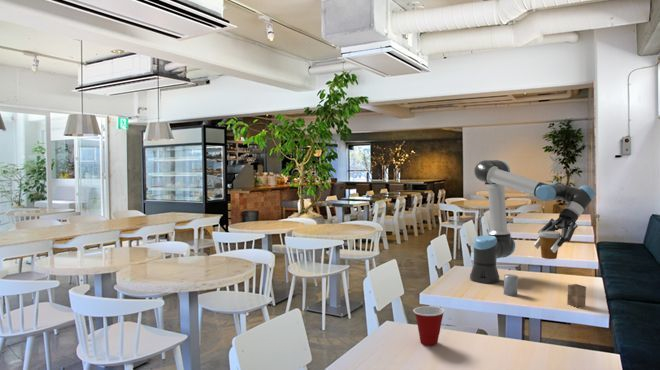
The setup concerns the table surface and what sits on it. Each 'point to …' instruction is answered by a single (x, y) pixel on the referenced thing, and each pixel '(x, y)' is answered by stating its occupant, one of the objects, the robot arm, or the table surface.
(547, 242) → the disposable coffee cup
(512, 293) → the grey rounded cylinder
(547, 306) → the table surface
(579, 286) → the walnut block
